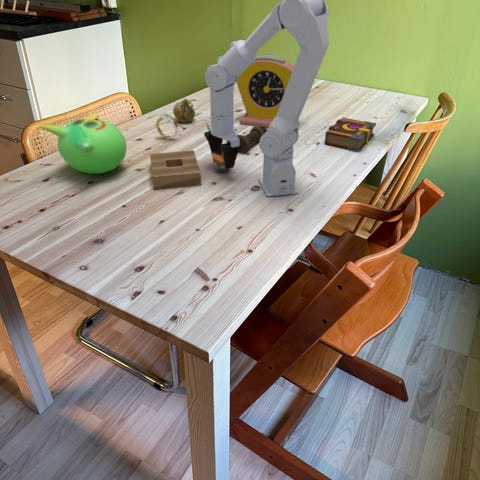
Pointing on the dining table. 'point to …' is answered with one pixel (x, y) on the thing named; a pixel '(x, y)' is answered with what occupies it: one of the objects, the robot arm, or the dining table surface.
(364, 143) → the decorative book
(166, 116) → the ring
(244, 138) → the bolt
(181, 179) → the block
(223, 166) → the orange short cylinder
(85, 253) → the dining table surface
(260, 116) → the yellow mantel clock
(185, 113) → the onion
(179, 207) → the dining table surface
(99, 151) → the toy bird
